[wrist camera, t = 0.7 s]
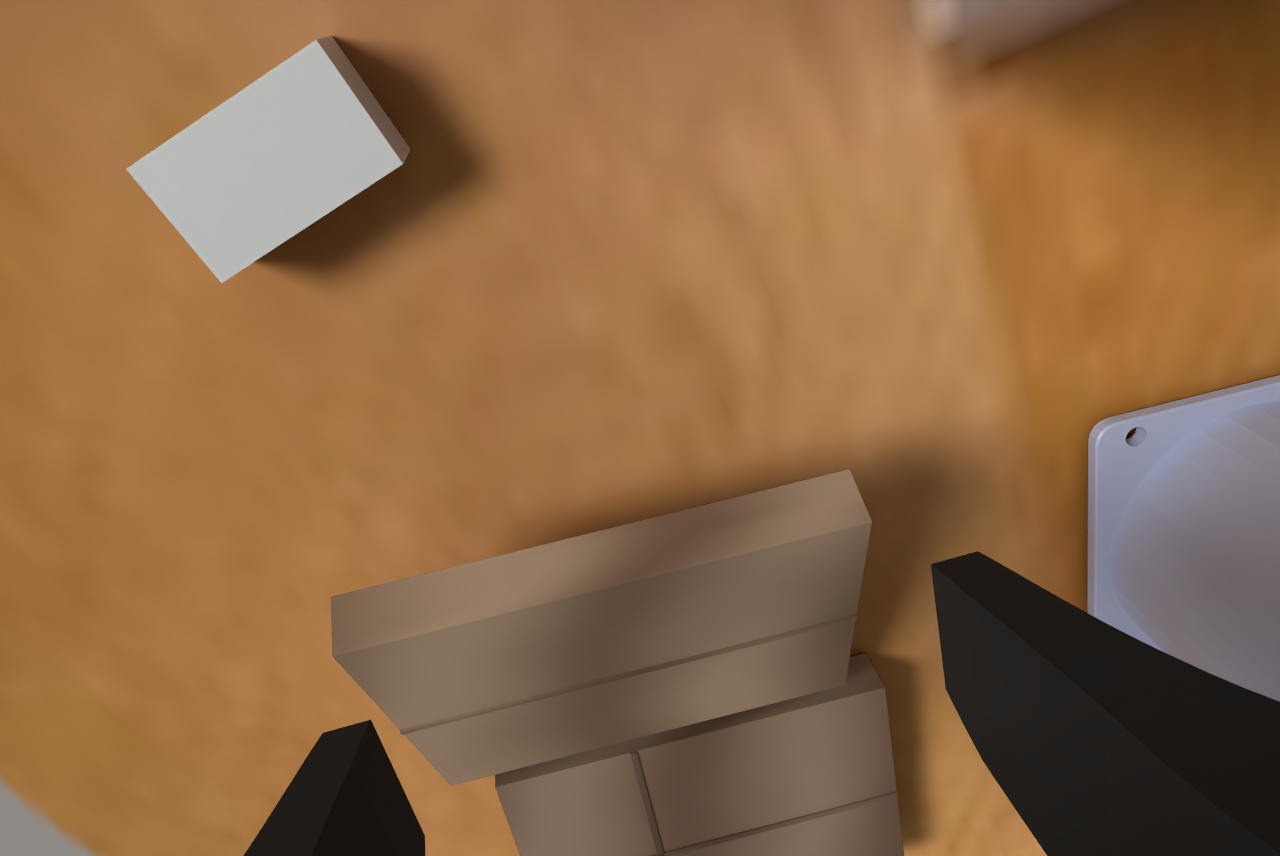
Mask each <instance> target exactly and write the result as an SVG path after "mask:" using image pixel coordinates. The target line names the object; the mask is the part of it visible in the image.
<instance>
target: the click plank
mask: <svg viewBox="0 0 1280 856" xmlns="http://www.w3.org/2000/svg"><path fill="white" fill-rule="evenodd" d="M871 526H872V520H871V518H870V516H869V513H868V511H867V509H866V506H865V504H864V502H863V499H862V497H861V495H860V492H859V490H858V488H857V485H856V483H855V480H854V478H853V476H852V473H851V471H850V469H848V470H844V471H840V472H836V473H832V474H828V475H824V476H820V477H816V478H812V479H808V480H804V481H800V482H796V483H792V484H787V485H783V486H779V487H775V488H771V489H767V490H763V491H759V492H755V493H751V494H747V495H743V496H739V497H735V498H731V499H727V500H723V501H718V502H714V503H710V504H706V505H702V506H698V507H694V508H690V509H686V510H682V511H678V512H674V513H670V514H666V515H662V516H658V517H654V518H650V519H645V520H641V521H637V522H633V523H629V524H625V525H621V526H617V527H613V528H609V529H605V530H601V531H597V532H593V533H589V534H585V535H581V536H576V537H572V538H568V539H564V540H560V541H556V542H552V543H548V544H544V545H540V546H536V547H532V548H528V549H524V550H520V551H516V552H512V553H507V554H503V555H499V556H495V557H491V558H487V559H483V560H479V561H475V562H471V563H467V564H463V565H459V566H455V567H451V568H447V569H443V570H439V571H434V572H430V573H426V574H422V575H418V576H414V577H410V578H406V579H402V580H398V581H394V582H390V583H386V584H382V585H378V586H374V587H370V588H365V589H361V590H357V591H353V592H349V593H345V594H341V595H337V596H333V597H331V620H332V656H333V657H334V658H335V660H336V661H337V662H338V663H339V664H340V665H341V666H342V667H343V668H344V669H345V670H346V672H347V673H348V674H349V675H350V676H351V677H352V678H353V679H354V680H355V681H356V682H357V684H358V685H359V686H360V687H361V688H362V689H363V690H364V691H365V692H366V693H367V694H368V696H369V697H370V698H371V699H372V700H373V701H374V702H375V703H376V704H377V705H378V706H379V708H380V709H381V710H382V711H383V712H384V713H385V714H386V715H387V716H388V717H389V718H390V720H391V721H392V722H393V723H394V724H395V725H396V726H397V727H398V728H399V729H400V733H401V734H402V735H403V734H404V735H405V736H406V737H407V738H408V739H409V740H410V741H411V742H412V744H413V745H414V746H415V747H416V748H417V749H418V750H419V751H420V752H421V753H422V754H423V756H424V757H425V758H426V759H427V760H428V761H429V762H430V763H431V764H432V765H433V766H434V768H435V769H436V770H437V771H438V772H439V773H440V774H441V775H442V776H443V777H444V778H445V780H446V781H447V782H448V783H449V784H450V785H451V786H452V785H456V784H460V783H464V782H468V781H472V780H476V779H480V778H484V777H488V776H491V775H495V774H499V773H503V772H507V771H511V770H515V769H519V768H523V767H527V766H531V765H534V764H538V763H542V762H546V761H550V760H554V759H558V758H562V757H566V756H570V755H574V754H577V753H581V752H585V751H589V750H593V749H597V748H601V747H605V746H609V745H613V744H617V743H620V742H624V741H628V740H632V739H636V738H640V737H644V736H648V735H652V734H656V733H660V732H663V731H667V730H671V729H675V728H679V727H683V726H687V725H691V724H695V723H699V722H703V721H706V720H710V719H714V718H718V717H722V716H726V715H730V714H734V713H738V712H742V711H746V710H749V709H753V708H757V707H761V706H765V705H769V704H773V703H777V702H781V701H785V700H789V699H792V698H796V697H800V696H804V695H808V694H812V693H816V692H820V691H824V690H828V689H832V688H835V687H839V686H843V685H845V682H846V676H847V670H848V664H849V658H850V652H851V646H852V640H853V634H854V628H855V622H856V620H857V617H858V616H857V610H858V604H859V598H860V592H861V586H862V580H863V574H864V568H865V562H866V556H867V550H868V544H869V538H870V532H871Z"/></svg>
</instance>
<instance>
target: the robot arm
mask: <svg viewBox="0 0 1280 856" xmlns="http://www.w3.org/2000/svg"><path fill="white" fill-rule="evenodd" d="M1135 427H1137V429H1136V432H1135V434H1134V435H1133V436H1132V437H1131V438H1129V439H1127V440H1125V439H1126V436H1127V434H1128V433H1129V431H1130V430H1131V429H1133V428H1135ZM931 569H932V577H933V586H934V594H935V602H936V611H937V619H938V627H939V636H940V644H941V652H942V661H943V669H944V677H945V686H946V690H947V692H948V694H949V696H950V698H951V700H952V702H953V704H954V706H955V708H956V710H957V712H958V714H959V716H960V718H961V720H962V722H963V724H964V726H965V728H966V730H967V732H968V734H969V736H970V737H971V739H972V741H973V743H974V745H975V747H976V749H977V751H978V752H979V754H980V756H981V758H982V760H983V761H984V763H985V764H986V766H987V767H988V769H989V770H990V772H991V773H992V775H993V777H994V778H995V779H996V781H997V782H998V784H999V785H1000V787H1001V788H1002V790H1003V791H1004V793H1005V794H1006V796H1007V797H1008V799H1009V800H1010V802H1011V803H1012V805H1013V806H1014V808H1015V809H1016V811H1017V812H1018V813H1019V815H1020V816H1021V818H1022V819H1023V821H1024V822H1025V824H1026V825H1027V827H1028V828H1029V830H1030V831H1031V832H1032V834H1033V835H1034V837H1035V838H1036V840H1037V841H1038V843H1039V844H1040V846H1041V847H1042V848H1043V850H1044V851H1045V853H1046V854H1047V856H1280V375H1278V376H1274V377H1270V378H1266V379H1262V380H1258V381H1254V382H1250V383H1246V384H1242V385H1238V386H1234V387H1230V388H1226V389H1221V390H1217V391H1213V392H1209V393H1205V394H1201V395H1197V396H1193V397H1189V398H1185V399H1181V400H1177V401H1173V402H1169V403H1165V404H1161V405H1157V406H1153V407H1149V408H1145V409H1140V410H1136V411H1132V412H1128V413H1124V414H1120V415H1116V416H1112V417H1108V418H1106V419H1104V420H1101V421H1100V422H1099V423H1097V424H1096V425H1095V426H1094V427H1093V429H1092V431H1091V432H1090V435H1089V440H1088V613H1086V612H1084V611H1083V610H1081V609H1079V608H1077V607H1075V606H1073V605H1072V604H1070V603H1068V602H1066V601H1064V600H1063V599H1061V598H1059V597H1057V596H1056V595H1054V594H1052V593H1050V592H1048V591H1047V590H1045V589H1043V588H1041V587H1040V586H1038V585H1036V584H1034V583H1033V582H1031V581H1029V580H1027V579H1026V578H1024V577H1022V576H1020V575H1019V574H1017V573H1015V572H1013V571H1012V570H1010V569H1008V568H1007V567H1005V566H1003V565H1001V564H1000V563H998V562H996V561H994V560H993V559H991V558H989V557H987V556H985V555H984V554H982V553H980V552H978V551H977V552H974V553H970V554H966V555H963V556H959V557H956V558H952V559H948V560H945V561H941V562H938V563H934V564H931ZM244 856H425V835H424V833H423V831H422V829H421V827H420V824H419V822H418V820H417V818H416V816H415V814H414V812H413V809H412V807H411V805H410V803H409V801H408V799H407V796H406V794H405V792H404V790H403V788H402V786H401V784H400V781H399V779H398V777H397V775H396V773H395V771H394V769H393V766H392V764H391V762H390V760H389V758H388V756H387V754H386V751H385V749H384V747H383V745H382V743H381V741H380V738H379V736H378V734H377V732H376V730H375V728H374V726H373V723H372V721H371V720H368V721H364V722H361V723H357V724H354V725H350V726H346V727H343V728H339V729H336V730H332V731H328V732H325V733H323V734H322V735H321V737H320V738H319V740H318V741H317V743H316V744H315V746H314V747H313V749H312V750H311V752H310V753H309V755H308V756H307V758H306V759H305V761H304V763H303V764H302V766H301V767H300V769H299V771H298V772H297V774H296V775H295V777H294V778H293V780H292V782H291V783H290V785H289V786H288V788H287V789H286V791H285V793H284V794H283V796H282V797H281V799H280V801H279V802H278V804H277V805H276V807H275V808H274V810H273V812H272V813H271V815H270V816H269V818H268V819H267V821H266V822H265V824H264V826H263V827H262V829H261V830H260V832H259V833H258V835H257V836H256V838H255V839H254V841H253V842H252V844H251V845H250V847H249V848H248V850H247V851H246V853H245V854H244Z"/></svg>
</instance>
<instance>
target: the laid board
mask: <svg viewBox="0 0 1280 856" xmlns="http://www.w3.org/2000/svg"><path fill="white" fill-rule="evenodd" d="M495 787H496V790H497V793H498V796H499V799H500V801H501V804H502V807H503V810H504V812H505V815H506V818H507V821H508V824H509V826H510V829H511V832H512V835H513V837H514V840H515V843H516V846H517V849H518V851H519V854H520V856H904V850H903V841H902V832H901V824H900V815H899V806H898V793H897V788H896V779H895V771H894V762H893V753H892V744H891V735H890V726H889V717H888V709H887V700H886V691H885V686H884V685H883V683H882V681H881V679H880V677H879V676H878V674H877V672H876V670H875V669H874V667H873V665H872V663H871V661H870V660H869V658H868V656H867V654H866V653H863V654H859V655H855V656H851V657H850V658H849V664H848V670H847V676H846V682H845V685H843V686H839V687H835V688H832V689H828V690H824V691H820V692H816V693H812V694H808V695H804V696H800V697H796V698H792V699H789V700H785V701H781V702H777V703H773V704H769V705H765V706H761V707H757V708H753V709H749V710H746V711H742V712H738V713H734V714H730V715H726V716H722V717H718V718H714V719H710V720H706V721H703V722H699V723H695V724H691V725H687V726H683V727H679V728H675V729H671V730H667V731H663V732H660V733H656V734H652V735H648V736H644V737H640V738H636V739H632V740H628V741H624V742H620V743H617V744H613V745H609V746H605V747H601V748H597V749H593V750H589V751H585V752H581V753H577V754H574V755H570V756H566V757H562V758H558V759H554V760H550V761H546V762H542V763H538V764H534V765H531V766H527V767H523V768H519V769H515V770H511V771H507V772H503V773H499V774H495Z"/></svg>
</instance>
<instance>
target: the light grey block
mask: <svg viewBox="0 0 1280 856" xmlns="http://www.w3.org/2000/svg"><path fill="white" fill-rule="evenodd" d="M410 150H411V149H410V148H409V146H408V145H407V143H406V142H405V141H404V139H403V138H402V136H401V135H400V133H399V132H398V130H397V129H396V128H395V126H394V125H393V123H392V122H391V120H390V119H389V117H388V116H387V115H386V113H385V112H384V110H383V109H382V107H381V106H380V104H379V103H378V102H377V100H376V99H375V97H374V96H373V94H372V93H371V91H370V90H369V89H368V87H367V86H366V84H365V83H364V81H363V80H362V78H361V77H360V76H359V74H358V73H357V71H356V70H355V68H354V67H353V65H352V64H351V63H350V61H349V60H348V58H347V57H346V55H345V54H344V52H343V51H342V50H341V48H340V47H339V45H338V44H337V42H336V41H335V39H334V38H333V37H332V36H329V37H325V38H321V39H317V40H315V41H314V42H312V43H311V44H309V45H308V46H306V47H305V48H303V49H302V50H300V51H299V52H297V53H296V54H294V55H293V56H292V57H290V58H289V59H287V60H286V61H284V62H283V63H281V64H280V65H278V66H277V67H275V68H274V69H272V70H271V71H269V72H268V73H267V74H265V75H264V76H262V77H261V78H259V79H258V80H256V81H255V82H253V83H252V84H250V85H249V86H247V87H246V88H244V89H243V90H241V91H240V92H239V93H237V94H236V95H234V96H233V97H231V98H230V99H228V100H227V101H225V102H224V103H222V104H221V105H219V106H218V107H216V108H215V109H214V110H212V111H211V112H209V113H208V114H206V115H205V116H203V117H202V118H200V119H199V120H197V121H196V122H194V123H193V124H191V125H190V126H188V127H187V128H186V129H184V130H183V131H181V132H180V133H178V134H177V135H175V136H174V137H172V138H171V139H169V140H168V141H166V142H165V143H163V144H162V145H161V146H159V147H158V148H156V149H155V150H153V151H152V152H150V153H149V154H147V155H146V156H144V157H143V158H141V159H140V160H138V161H137V162H135V163H134V164H133V165H131V166H130V167H128V168H127V169H126V170H127V171H128V172H129V173H130V174H131V176H132V177H133V178H134V179H135V180H136V182H137V183H138V184H139V185H140V186H141V187H142V189H143V190H144V191H145V192H146V193H147V195H148V196H149V197H150V198H151V199H152V201H153V202H154V203H155V204H156V205H157V207H158V208H159V209H160V210H161V211H162V213H163V214H164V215H165V216H166V217H167V219H168V220H169V221H170V222H171V223H172V224H173V226H174V227H175V228H176V229H177V230H178V232H179V233H180V234H181V235H182V236H183V238H184V239H185V240H186V241H187V242H188V244H189V245H190V246H191V247H192V248H193V250H194V251H195V252H196V253H197V254H198V256H199V257H200V258H201V259H202V260H203V261H204V263H205V264H206V265H207V266H208V267H209V269H210V270H211V271H212V272H213V273H214V275H215V276H216V277H217V278H218V279H219V281H220V282H221V283H223V282H224V281H226V280H227V279H229V278H230V277H232V276H233V275H235V274H236V273H238V272H239V271H241V270H242V269H244V268H245V267H247V266H248V265H250V264H252V263H253V262H255V261H256V260H258V259H259V258H261V257H262V256H264V255H265V254H267V253H268V252H270V251H271V250H273V249H274V248H276V247H277V246H279V245H280V244H282V243H284V242H285V241H287V240H288V239H290V238H291V237H293V236H294V235H296V234H297V233H299V232H300V231H302V230H303V229H305V228H306V227H308V226H309V225H311V224H312V223H314V222H315V221H317V220H319V219H320V218H322V217H323V216H325V215H326V214H328V213H329V212H331V211H332V210H334V209H335V208H337V207H338V206H340V205H341V204H343V203H344V202H346V201H347V200H349V199H351V198H352V197H354V196H355V195H357V194H358V193H360V192H361V191H363V190H364V189H366V188H367V187H369V186H370V185H372V184H373V183H375V182H376V181H378V180H379V179H381V178H383V177H384V176H386V175H387V174H389V173H390V172H392V171H393V170H395V169H396V168H398V167H399V166H401V165H402V164H403V163H404V161H405V159H406V158H407V156H408V154H409V152H410Z"/></svg>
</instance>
